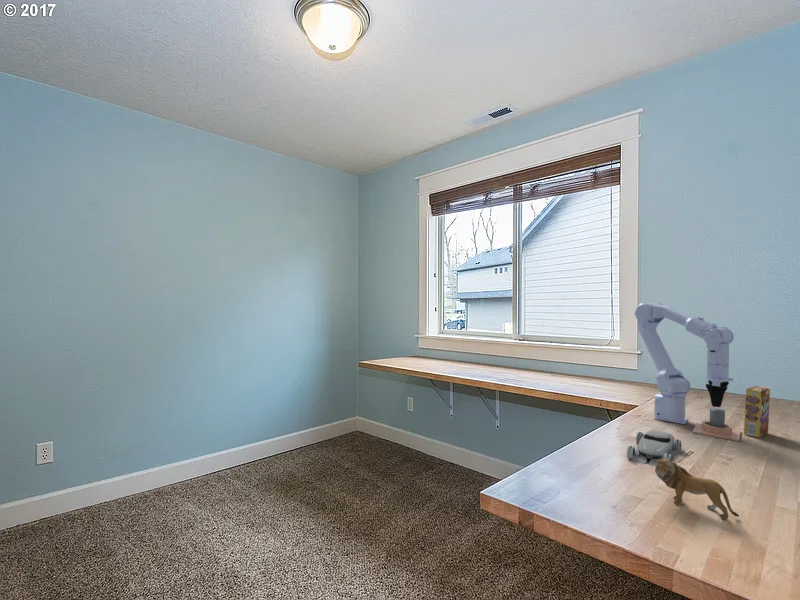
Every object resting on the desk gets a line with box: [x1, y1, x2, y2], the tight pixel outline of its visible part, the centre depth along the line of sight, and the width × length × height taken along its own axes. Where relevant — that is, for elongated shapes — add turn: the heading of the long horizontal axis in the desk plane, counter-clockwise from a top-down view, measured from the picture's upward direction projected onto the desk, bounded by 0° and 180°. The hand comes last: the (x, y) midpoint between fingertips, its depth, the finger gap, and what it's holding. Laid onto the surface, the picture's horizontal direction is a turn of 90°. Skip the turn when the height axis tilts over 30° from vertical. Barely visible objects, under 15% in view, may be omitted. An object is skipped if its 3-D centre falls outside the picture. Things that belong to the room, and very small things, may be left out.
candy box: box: [743, 385, 771, 439], centre depth 137 cm, size 9×4×15 cm, turn 123°
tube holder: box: [692, 420, 741, 442], centre depth 138 cm, size 12×12×3 cm
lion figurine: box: [654, 459, 740, 520], centre depth 89 cm, size 15×5×9 cm, turn 53°
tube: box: [709, 407, 726, 428], centre depth 138 cm, size 4×4×7 cm
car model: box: [626, 429, 682, 467], centre depth 120 cm, size 11×24×5 cm, turn 139°
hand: (717, 404), depth 138 cm, fingers open, 7 cm apart
